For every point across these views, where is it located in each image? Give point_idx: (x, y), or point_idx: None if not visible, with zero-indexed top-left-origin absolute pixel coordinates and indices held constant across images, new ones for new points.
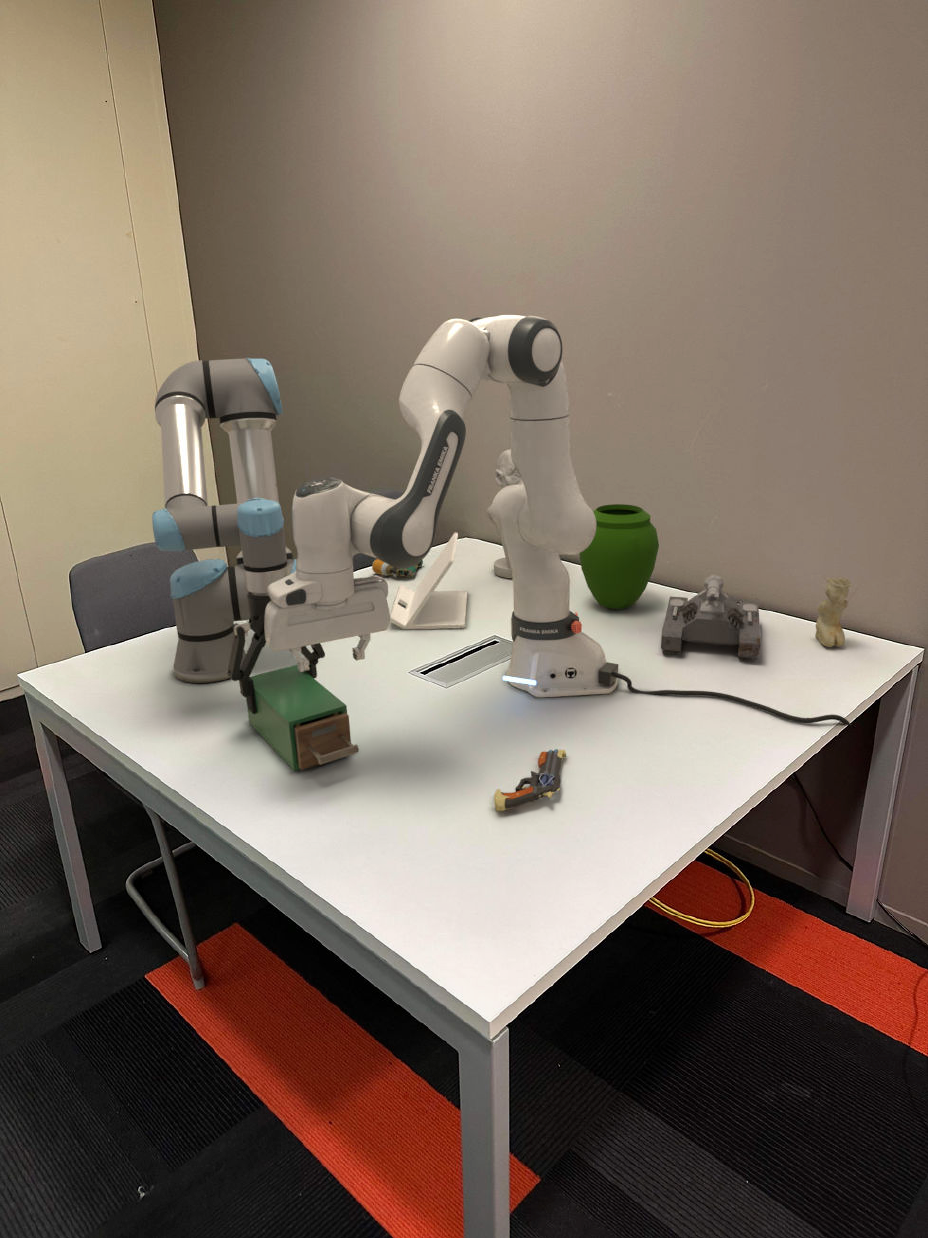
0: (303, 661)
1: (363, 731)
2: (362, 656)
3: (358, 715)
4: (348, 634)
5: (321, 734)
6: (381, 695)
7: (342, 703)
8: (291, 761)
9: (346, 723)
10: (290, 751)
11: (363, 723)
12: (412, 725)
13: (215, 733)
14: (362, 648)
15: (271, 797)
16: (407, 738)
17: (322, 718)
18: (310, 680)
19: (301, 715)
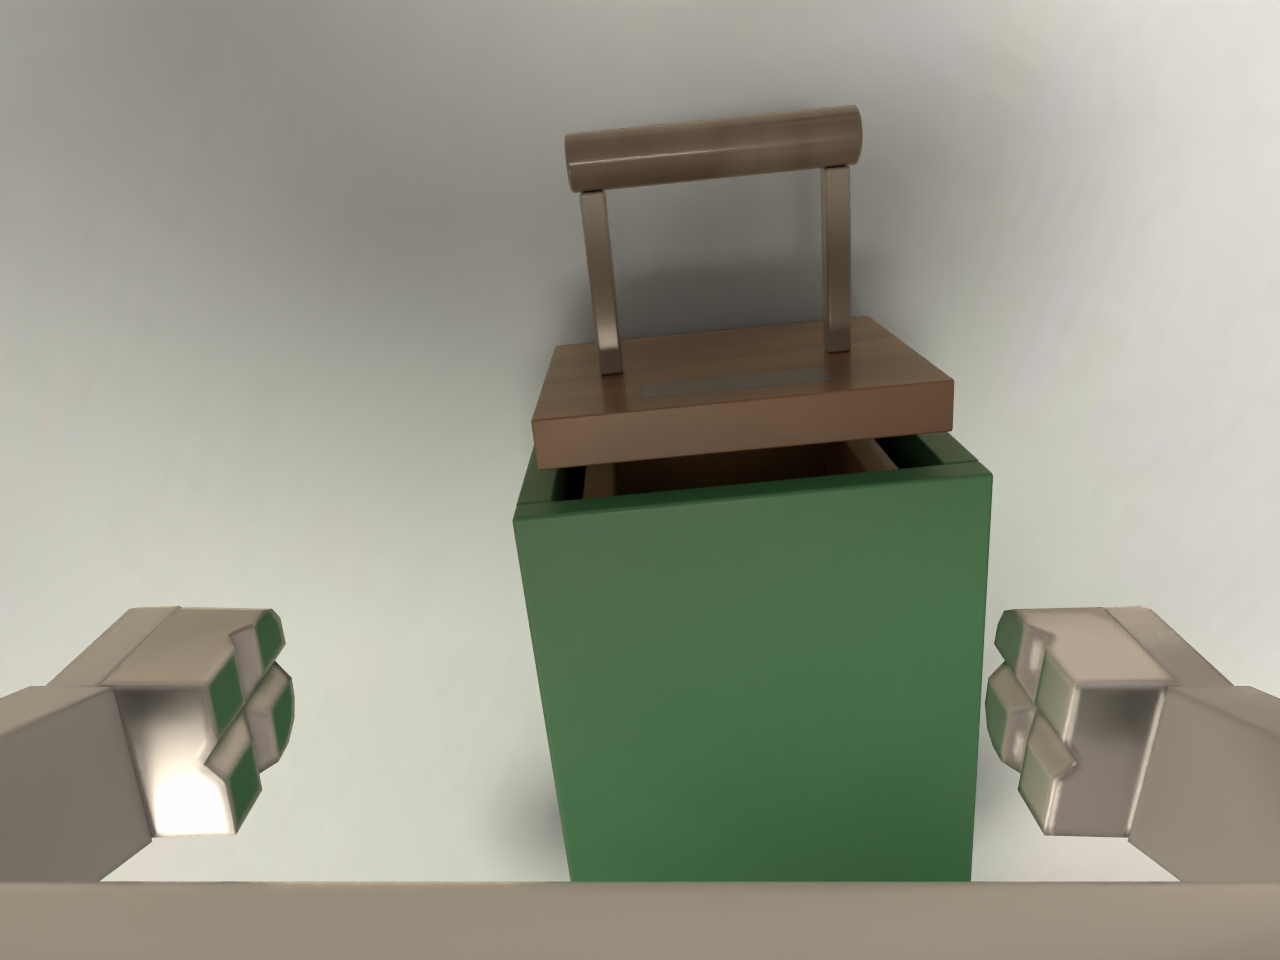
0: (1187, 688)
1: (410, 578)
2: (152, 625)
3: (385, 736)
4: (131, 944)
5: (754, 373)
6: (217, 860)
7: (530, 560)
8: None
9: (559, 401)
10: None
11: (385, 653)
12: (138, 513)
13: (1040, 870)
14: (61, 704)
15: (1089, 168)
16: (203, 393)
17: None
18: None
19: (869, 528)
